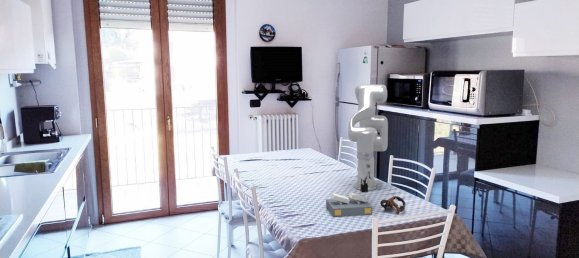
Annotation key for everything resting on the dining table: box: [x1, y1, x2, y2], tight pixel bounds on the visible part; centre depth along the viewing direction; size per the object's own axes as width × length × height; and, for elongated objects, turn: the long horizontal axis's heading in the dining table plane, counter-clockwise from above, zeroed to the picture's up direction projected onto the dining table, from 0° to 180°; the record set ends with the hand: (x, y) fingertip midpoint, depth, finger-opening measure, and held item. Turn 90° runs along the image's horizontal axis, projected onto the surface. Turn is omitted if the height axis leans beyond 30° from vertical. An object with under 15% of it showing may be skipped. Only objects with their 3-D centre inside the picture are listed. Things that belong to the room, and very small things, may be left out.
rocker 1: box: [330, 192, 350, 204], centre depth 190 cm, size 8×4×2 cm, turn 99°
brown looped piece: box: [379, 195, 406, 215], centre depth 190 cm, size 12×10×8 cm
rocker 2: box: [348, 191, 368, 202], centre depth 191 cm, size 8×4×2 cm, turn 99°
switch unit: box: [325, 197, 373, 218], centre depth 191 cm, size 19×14×5 cm
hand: (364, 191), depth 192 cm, fingers closed
